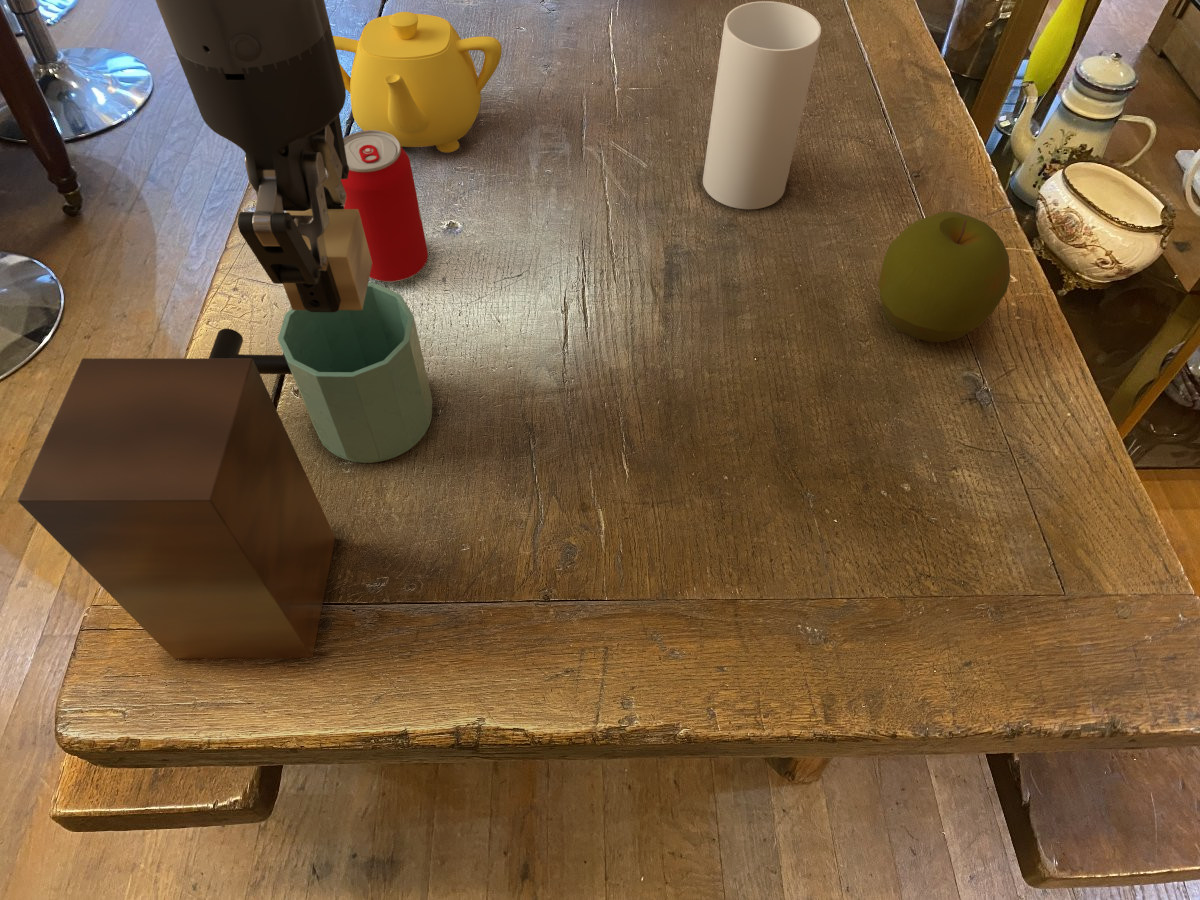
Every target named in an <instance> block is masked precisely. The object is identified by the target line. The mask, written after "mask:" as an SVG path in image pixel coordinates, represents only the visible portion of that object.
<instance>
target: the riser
mask: <svg viewBox="0 0 1200 900" xmlns="http://www.w3.org/2000/svg"><path fill="white" fill-rule="evenodd" d="M54 417H55V418H54V420H53V422H52V424H51V426H50V428H49V430H48V433H47V435H46V436H45V438H44V441H43V443H42V446H41V448H40V450H39V452H38V454H37V457H36V459H35V461H34V463H33V465H32V468H31V470H30V472H29V474H28V477H27V479H26V480H25V483H24V485H23V487H22V490H21V492H20V493H19V496H18V498H17V502H18V503H19V504H20V505H21V506H22V507H23V508H24V509H25V510H26V511H27V512H28V514H30V516H31V517H32V518H34V520H35V521H36V522H37V523H39V524H40V526H41V527H42V528H43V529H44V530H45V531H46V532H47V533H48V534H49V535H50V536H51V537H52V538H53V539H54V540H55V541H56V542H57V543H58V544H59V545H60V546H61V547H62V548H63V549H64V550H65V551H66V552H67V553H68V554H69V555H70V556H71V557H72V558H73V559H74V560H75V561H76V562H77V563H78V564H79V565H80V566H81V567H82V568H83V569H84V570H85V571H86V572H87V573H88V574H89V575H90V576H91V577H92V578H93V579H94V580H95V581H96V582H97V583H98V584H99V585H100V587H102V588H103V590H105V592H107V593H108V595H110V596H111V597H112V598H113V599H114V600H115V602H117V604H119V605H120V607H122V609H123V610H124V611H125V612H127V614H129V615H130V617H131V618H132V619H134V621H135V622H136V623H138V625H140V627H141V628H142V629H143V630H144V631H145V632H147V634H148V635H149V636H150V638H152V639H153V640H154V641H155V642H156V643H157V644H158V645H159V646H160V647H161V648H162V649H163V650H164V651H165V652H166V653H167V654H168V655H169V656H170V657H171V658H172V659H174V660H175V659H177V660H178V659H179V660H180V659H182V660H183V659H185V660H186V659H286V658H287V659H294V658H296V659H297V658H298V659H299V658H301V659H303V658H304V659H306V658H311V659H312V658H313V657H314V652H315V648H316V641H317V636H318V631H319V625H320V621H321V615H322V611H323V606H324V605H323V604H324V600H325V595H326V590H327V584H328V579H329V573H330V568H331V563H332V557H333V554H334V548H335V543H336V536H335V534H334V532H333V530H332V527H331V525H330V523H329V521H328V518H327V517H326V514H325V512H324V509H323V507H322V506H321V504H320V502H319V500H318V497H317V495H316V493H315V490H314V489H313V487H312V484H311V482H310V480H309V478H308V476H307V473H306V471H305V468H304V467H303V464H302V462H301V460H300V458H299V456H298V454H297V452H296V450H295V447H294V445H293V443H292V441H291V439H290V437H289V436H290V435H288V432H287V430H286V428H285V425H284V423H283V421H282V418H281V417H280V415H279V413H278V410H277V408H276V406H275V403H274V402H273V400H272V398H271V395H270V393H269V391H268V388H267V386H266V383H264V380H263V378H262V376H261V374H259V371H258V369H257V367H256V365H255V363H254V360H253V359H214V358H209V357H207V358H206V357H205V358H201V357H200V358H199V357H198V358H197V357H196V358H189V357H188V358H185V357H183V358H179V357H178V358H171V357H170V358H169V357H167V358H165V357H163V358H162V357H161V358H158V357H157V358H154V357H153V358H152V357H151V358H146V357H145V358H141V357H140V358H137V357H135V358H128V357H127V358H122V357H121V358H120V357H119V358H116V357H115V358H112V357H110V358H103V357H98V358H94V357H92V358H91V357H89V358H87V357H86V358H85V357H84V358H81V360H80V362H79V363H78V366H77V369H76V371H75V374H74V375H73V378H72V380H71V382H70V384H69V386H68V389H67V391H66V393H65V395H64V397H63V399H62V402H61V404H60V406H59V408H58V410H57V413H56V415H55V416H54Z"/></svg>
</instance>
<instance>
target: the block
mask: <svg viewBox="0 0 1200 900" xmlns="http://www.w3.org/2000/svg"><path fill="white" fill-rule="evenodd" d="M327 210H328V216H329V225H328V227H327V228H326V230H325V231H324V233H323V236H324V241H325V247H326V252H327V257H328V261H329V264H330V267H331V270H332V273H333V277H334V280H335V283H336V286H337V289H338V293H339V296H340V299H341V302H340V306H339V310H362V309H363V305H364V300H365V295H366V291H367V286H368V283H369V280H370V277H369V276H370V272H371V267H372V260H371V256H370V252H369V248H368V244H367V240H366V237H365V233H364V229H363V225H362V221H361V217H360V214H359V210H358V209H327ZM285 213H290V215H307V216H312V215H313V214H312V209H309V210H306V211H285ZM302 237H303V239H304V241H305V242H306V244H307V246H308V248H309V250H311V245H310V240H309V238H308V237H307V236H304V235H302ZM282 287H283V289H284V291H285V295H286V297H287V299H288V302H289V304H290V307H291V309H292V310H306V309H305V308H304V306H303V304H302V301H301V298H300V295H299V293H298V290H297V287H296V284H295V283H283V284H282Z"/></svg>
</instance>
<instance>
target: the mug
mask: <svg viewBox="0 0 1200 900" xmlns="http://www.w3.org/2000/svg"><path fill="white" fill-rule="evenodd" d="M418 333H419V332H418V328H417V324H416V321H415V315H414V314H413V312H412V311H411V309H410V307H409V306H408V304H407V302H406V301H405V299H404V298H403V296H402V295H401V294H400V293H398V292H396V291H393V290H392V289H389V288H387V287H384V286H382V285H380V284H378V283H375V282H368V286H367V291H366V295H365V300H364V305H363V309H362V310H338V311H337V312H310V311H308V310H292V308H290V309H289V310H288V311H287V312H286V313H285V314H284V318H283V320H282V324H281V327H280V330H279V334H278V337H277V341H278V344H279V347H280V349H281V351H282V354H240V351H241V349H242V346H243V342H244V338H243V336H242V334H241V333H239V331H237V330H235V329H231V328H222V329H219V330H218V332H217V334H216V337H215V339H214V343H213V346H212V348H211V351H210V354H209V356H208V358H214V359H253V360H254V363H255V365H256V367H257V369H258V371H259V374H260V375H292V378H293V381H294V382H295V385H296V387H297V390H298V392H299V395H300V397H301V400H302V401H303V405H304V407H305V409H306V412H307V414H308V416H309V419H310V421H311V423H312V426H313V427H314V430H315V432H316V434H317V436H318V439H319V440H320V443H321V445H322V446H323V447H325V449H327V450H328V452H330V453H332V454H333V455H334V456H336V457H338V458H341V459H343V460H345V461H348V462H354V463H362V464H370V463H371V464H372V463H380V462H385V461H388V460H391V459H395V458H397V457H398V456H401V455H403V454H404V453H406V452H408V451H410V450H411V449H412V448H413V447H415V446H416V445H417V444H418V443H419V442H420V441H421V440H422V438H424V436H425V435H426V433H427V431H428V430H429V427H430V425H431V422H432V417H433V403H434V402H433V397H432V391H431V387H430V384H429V383H430V382H429V378H428V375H427V369H426V366H425V365H426V364H425V361H424V355H423V351H422V346H421V343H420V338H419V334H418Z"/></svg>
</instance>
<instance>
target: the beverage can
mask: <svg viewBox="0 0 1200 900" xmlns="http://www.w3.org/2000/svg"><path fill="white" fill-rule="evenodd" d="M343 140H344V146H345V152H346V158H347V164H348V166H349V173H348V178H347V179H341V182H342V184H343V187H344V189H345V192H346V201H345V205H341V206H344V209H358V210H359V214H360V217H361V221H362V225H363V229H364V233H365V237H366V240H367V244H368V248H369V252H370V256H371V260H372V267H371V272H370V276H369V279H372V280H376V281H379V282H385V283H395V282H401V281H404V280H407V279H410V278H412V277H413V276H416V275H417V274H418V273H419V272H420V271H421V270H422V269H423V268H424V267H425V266H426V264H427V262H428V259H429V251H428V246H427V241H426V236H425V231H424V226H423V220H422V215H421V209H420V205H419V201H418V196H417V195H418V194H417V189H416V184H415V179H414V175H413V169H412V164H411V159H410V157H409V155H408V154H407V152H406V150H405V149H404V148H403V147H401V146H400V143H399V141H398V140H397V139H396V137H394V136H393V135H391V134H389V133H387V132H383V131H378V130H366V131H363V130H360V131H356V132H354V133H351V134H349V135H347V136H345V137H343Z"/></svg>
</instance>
